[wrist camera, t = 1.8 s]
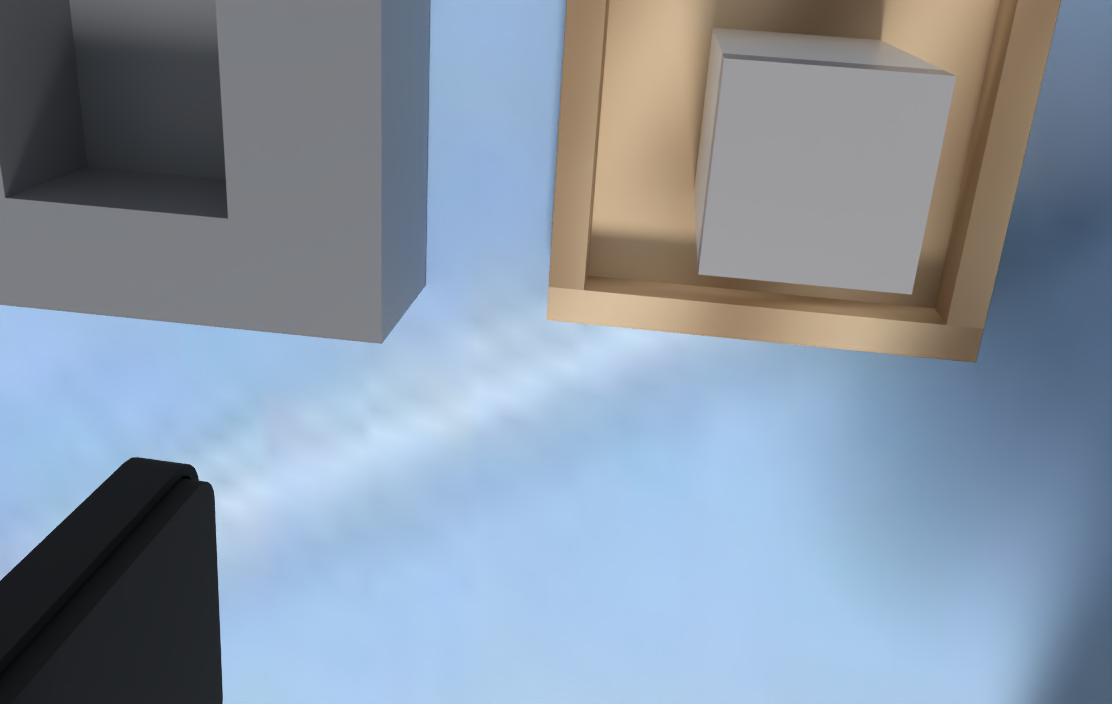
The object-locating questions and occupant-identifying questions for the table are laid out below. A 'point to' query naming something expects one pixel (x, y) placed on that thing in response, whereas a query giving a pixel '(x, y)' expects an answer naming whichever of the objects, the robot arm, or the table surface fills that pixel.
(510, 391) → the table surface
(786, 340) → the tray
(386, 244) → the block
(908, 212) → the plug
